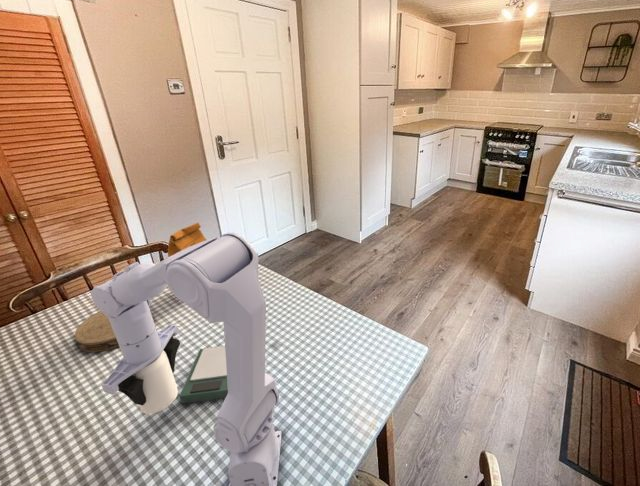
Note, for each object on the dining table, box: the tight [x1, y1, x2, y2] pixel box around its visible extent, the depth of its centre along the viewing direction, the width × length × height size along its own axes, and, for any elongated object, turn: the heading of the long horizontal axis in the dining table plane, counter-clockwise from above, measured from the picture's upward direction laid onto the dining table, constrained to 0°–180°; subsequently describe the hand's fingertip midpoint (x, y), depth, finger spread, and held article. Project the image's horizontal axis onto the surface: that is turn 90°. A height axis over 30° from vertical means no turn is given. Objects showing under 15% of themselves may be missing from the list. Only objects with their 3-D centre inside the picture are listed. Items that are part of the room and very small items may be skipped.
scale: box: [179, 345, 228, 405], centre depth 72 cm, size 13×10×3 cm
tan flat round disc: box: [74, 310, 119, 353], centre depth 85 cm, size 16×16×3 cm
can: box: [133, 350, 179, 415], centre depth 60 cm, size 6×6×12 cm
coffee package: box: [167, 222, 208, 258], centre depth 101 cm, size 10×12×22 cm
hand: (155, 386), depth 61 cm, fingers closed on can, 6 cm apart
